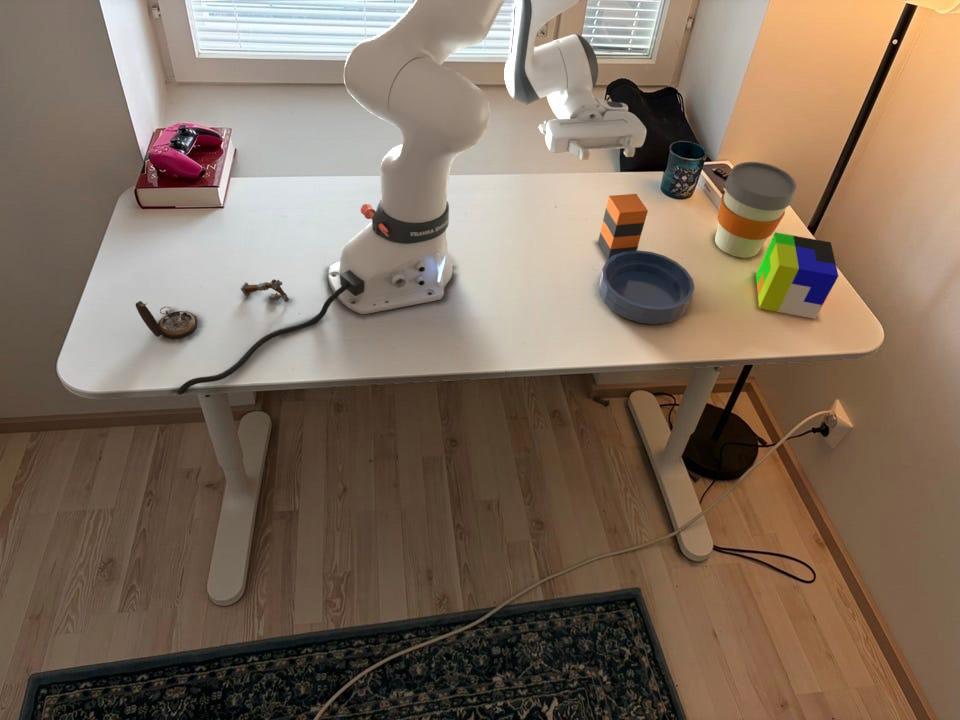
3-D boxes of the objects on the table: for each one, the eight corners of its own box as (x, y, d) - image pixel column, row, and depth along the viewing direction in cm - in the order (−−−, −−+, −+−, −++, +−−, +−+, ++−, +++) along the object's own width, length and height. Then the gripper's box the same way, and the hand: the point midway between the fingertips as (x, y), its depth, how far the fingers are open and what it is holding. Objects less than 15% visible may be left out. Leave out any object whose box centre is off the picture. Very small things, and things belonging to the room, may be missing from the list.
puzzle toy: (814, 318, 131) (838, 276, 124) (759, 308, 132) (779, 265, 124) (808, 284, 138) (830, 242, 130) (755, 275, 139) (774, 232, 131)
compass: (206, 329, 118) (196, 295, 112) (159, 350, 114) (147, 316, 108) (182, 303, 121) (172, 269, 116) (136, 323, 117) (123, 289, 112)
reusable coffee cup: (695, 244, 144) (718, 179, 133) (721, 218, 151) (745, 154, 141) (754, 271, 139) (783, 206, 128) (778, 243, 147) (807, 178, 136)
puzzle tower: (607, 260, 138) (619, 212, 130) (597, 243, 142) (608, 195, 134) (634, 258, 139) (648, 210, 132) (623, 240, 143) (636, 193, 135)
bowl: (638, 337, 124) (643, 320, 121) (580, 282, 133) (583, 265, 130) (706, 308, 131) (713, 291, 128) (646, 258, 140) (651, 241, 137)
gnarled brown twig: (290, 303, 122) (276, 282, 119) (253, 308, 125) (239, 287, 123) (294, 296, 123) (281, 275, 121) (258, 301, 127) (244, 281, 124)
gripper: (538, 108, 144) (559, 143, 135) (633, 102, 148) (660, 137, 139) (534, 137, 148) (555, 173, 139) (626, 131, 153) (652, 166, 143)
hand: (608, 155), depth 139 cm, fingers open, 8 cm apart
